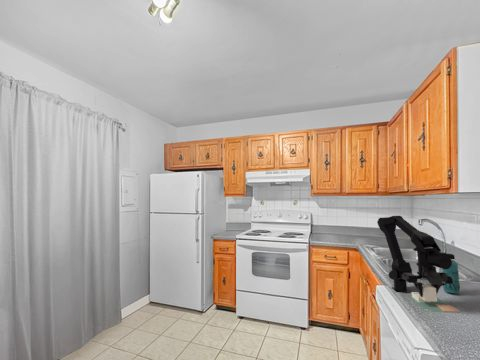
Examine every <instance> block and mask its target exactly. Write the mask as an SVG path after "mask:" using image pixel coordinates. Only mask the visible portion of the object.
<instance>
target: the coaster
mask: <svg viewBox="0 0 480 360" xmlns="http://www.w3.org/2000/svg"><path fill="white" fill-rule="evenodd" d="M435 305H436V306H437V307H438V308H440V309H441V310H443V311H444V312H443V313H447V312H460V310H458V309H457V308H456V307H454V306H452V305H451V304H448V305H440V304H435ZM460 313H461V312H460Z"/></svg>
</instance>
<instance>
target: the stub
mask: <svg viewBox="0 0 480 360" xmlns="http://www.w3.org/2000/svg"><path fill="white" fill-rule="evenodd" d="M422 284H423V285H422V292H423V297H421V296H420V298H421V299H423V300H424V301H434V302H437V297H438V296H437V295H438V294H437V295H436V288H435V287H434V286H432V285H431V284H430V283H429V284H428V283H427V284H424V283H422ZM419 295H420V294H419Z"/></svg>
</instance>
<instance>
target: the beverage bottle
mask: <svg viewBox="0 0 480 360" xmlns="http://www.w3.org/2000/svg"><path fill="white" fill-rule="evenodd" d="M447 256H448V257H449V258H450V259H451V261H452V265H451V267H450V268H449V269H442V268H441V269H442V270H441V271H442V273H446V274H447V275H448V276H450V277H452V279H453V284H446V283H445V282H443V283H444V284H445V285H443V286H442V287H443V291H445V292H447V293H450V294H459V293H460V291H461V287H460V278H459V277H460V275H459V264H458V262H457V261H455V260H456V256H455V254H453V253H447Z"/></svg>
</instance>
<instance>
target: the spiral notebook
mask: <svg viewBox="0 0 480 360" xmlns="http://www.w3.org/2000/svg"><path fill="white" fill-rule="evenodd" d="M411 296H412V297H413V298H414V299H415V300H417V301H418V302H426V303H431V301H424V300H423V299H421V298H420V295H419V292H418V291H417V292H416V291H415V292H414V291H412V292H411Z"/></svg>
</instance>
